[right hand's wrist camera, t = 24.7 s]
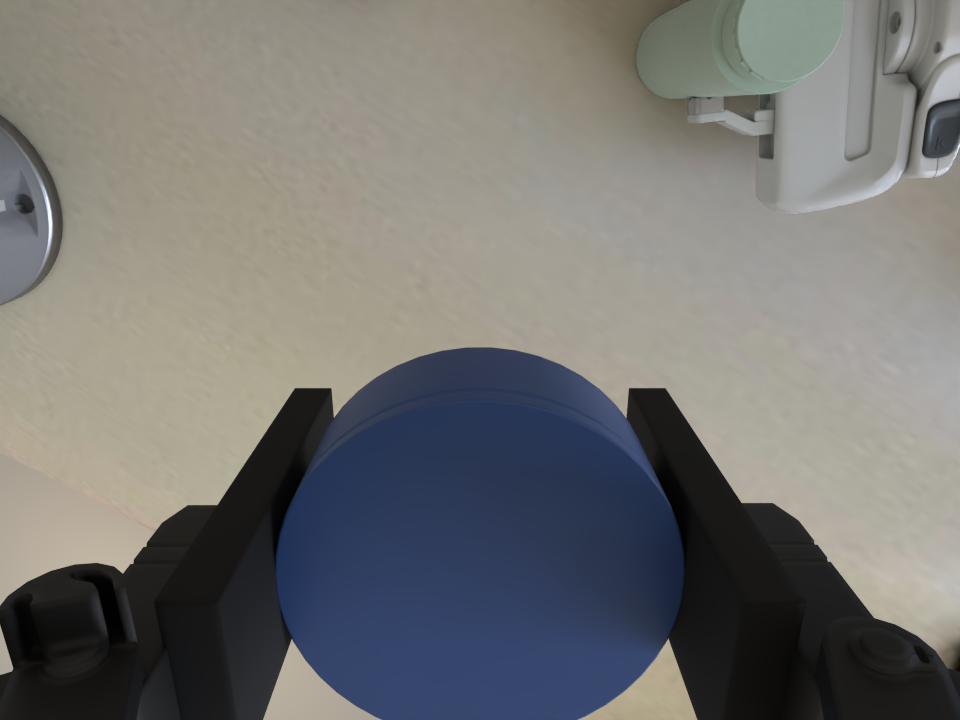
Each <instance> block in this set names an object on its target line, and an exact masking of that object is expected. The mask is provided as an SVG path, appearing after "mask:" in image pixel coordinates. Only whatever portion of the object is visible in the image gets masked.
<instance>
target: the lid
mask: <svg viewBox="0 0 960 720" xmlns="http://www.w3.org/2000/svg"><path fill="white" fill-rule="evenodd" d="M275 572H276V582H277V589H278V597H279V605H280V609H281V613H282V616H283V619H284V622H285V624H286V627H287V629H288V631H289V633H290V635H291V637H292V640H293V642H294V643H295V645H296V646H297V648H298V649H299V651H300V652H301V654H302V655H303V657H304V659H305V660H306V661H307V662H308V664H309V665H310V666H311V667H312V668H313V669H314V671H315V672H316V673H317V674H318V675H319V676H320V678H322V679H323V680H324V681H325V682H326V683H327V684H328V685H329V686H330V687H331V688H333V689H334V690H335V691H336V692H337V693H338V694H340V695H341V696H343V697H344V698H346V699H347V700H348V701H350V702H351V703H352V704H354V705H355V706H357V707H359V708H360V709H362V710H364V711H366V712H368V713H370V714H371V715H373V716H375V717H377V718H379V719H382V720H578V719H580V718H583V717H585V716H587V715H589V714H590V713H592V712H594V711H596V710H597V709H599V708H601V707H603V706H605V705H606V704H608V703H609V702H610V701H612V700H613V699H614V698H616V697H617V696H619V695H620V694H621V693H623V692H624V691H625V690H626V689H627V688H629V687H630V686H631V685H632V684H633V683H634V682H635V681H636V680H637V679H638V678H639V677H640V676H641V675H642V674H643V673H644V672H645V671H646V669H647V668H648V667H649V666H650V665H651V663H652V662H653V661H654V660H655V659H656V657H657V656H658V654H659V652H660V651H661V649H662V648H663V646H664V644H665V643H666V641H667V640H668V638H669V635H670V633H671V631H672V629H673V626H674V624H675V622H676V620H677V616H678V613H679V609H680V606H681V600H682V592H683V584H684V576H685V552H684V547H683V542H682V537H681V532H680V528H679V526H678V523H677V520H676V518H675V515H674V512H673V510H672V507H671V505H670V503H669V501H668V499H667V497H666V495H665V493H664V491H663V489H662V487H661V484H660V482H659V480H658V478H657V476H656V474H655V472H654V470H653V468H652V466H651V464H650V462H649V460H648V458H647V455H646V453H645V451H644V449H643V447H642V445H641V443H640V441H639V439H638V437H637V435H636V434H635V432H634V430H633V428H632V427H631V425H630V423H629V421H628V420H627V419H626V418H625V416H624V415H623V414H622V412H621V411H620V410H619V409H618V407H617V406H616V405H615V404H614V403H613V402H612V401H611V400H610V399H609V398H608V397H607V396H606V395H605V394H604V393H603V392H602V391H601V390H600V389H599V388H597V387H596V386H594V385H593V384H592V383H590V382H589V381H588V380H586V379H585V378H584V377H582V376H581V375H579V374H577V373H575V372H573V371H571V370H570V369H568V368H566V367H564V366H562V365H560V364H558V363H555V362H552V361H550V360H547V359H545V358H542V357H539V356H536V355H532V354H528V353H524V352H520V351H516V350H508V349H499V348H460V349H453V350H445V351H440V352H436V353H432V354H428V355H425V356H421V357H418V358H415V359H413V360H410V361H408V362H405V363H403V364H400V365H398V366H396V367H394V368H392V369H390V370H389V371H387V372H385V373H383V374H381V375H380V376H378V377H376V378H375V379H374V380H372V381H371V382H370V383H368V384H367V385H366V386H364V387H363V388H362V389H360V390H359V391H358V392H357V393H356V394H355V395H354V396H353V397H352V398H351V399H350V400H349V401H348V402H347V403H346V404H345V405H344V406H343V407H342V408H341V410H340V411H339V412H338V414H337V415H336V416H335V418H334V419H333V420H332V422H331V423H330V424H329V426H328V428H327V430H326V432H325V434H324V436H323V437H322V439H321V441H320V443H319V445H318V447H317V449H316V451H315V453H314V455H313V458H312V460H311V462H310V464H309V466H308V468H307V470H306V472H305V474H304V476H303V478H302V480H301V483H300V485H299V487H298V489H297V491H296V493H295V495H294V497H293V499H292V501H291V503H290V505H289V507H288V510H287V512H286V515H285V518H284V521H283V523H282V526H281V529H280V532H279V537H278V542H277V548H276V553H275Z"/></svg>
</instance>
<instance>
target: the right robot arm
mask: <svg viewBox="0 0 960 720" xmlns="http://www.w3.org/2000/svg"><path fill="white" fill-rule="evenodd" d="M61 238H62V212H61V206H60V201H59V197H58V193H57V190H56V187H55V184H54V182H53V179H52V177H51V175H50V173H49V171H48V169H47V167H46V165H45V164H44V162H43V160H42V159H41V157H40V155H39V154H38V153H37V151H36V150H35V148H34V147H33V146H32V145H31V143H30V142H29V141H28V140H27V139H26V137H25V136H24V135H23V134H22V133H21V132H20V131H19V130H18V129H17V128H16V127H14V126H13V125H12V124H11V123H10V122H9V121H7V120H6V119H5V118H3V117H2V116H1V115H0V305H3V304H5V303H8V302H10V301H12V300H15V299H17V298H19V297H21V296H23V295H25V294H27V293H28V292H30V291H31V290H32V289H34V288H35V287H36V286H37V285H38V284H39V283H40V282H42V280H43V279H44V278H45V277H46V276H47V274H48V273H49V271H50V270H51V268H52V266H53V264H54V262H55V260H56V258H57V255H58V252H59V249H60V244H61ZM333 419H334V415H333V403H332V391H331V388H295V389H294V391H293V392H292V394H291V395H290V397H289V398H288V400H287V401H286V403H285V404H284V406H283V407H282V409H281V410H280V412H279V413H278V415H277V416H276V418H275V419H274V421H273V422H272V424H271V425H270V427H269V428H268V430H267V431H266V433H265V434H264V436H263V437H262V439H261V440H260V442H259V443H258V445H257V446H256V448H255V449H254V451H253V452H252V454H251V456H250V457H249V459H248V460H247V462H246V463H245V465H244V466H243V468H242V469H241V471H240V472H239V474H238V475H237V477H236V478H235V480H234V481H233V483H232V484H231V486H230V487H229V489H228V490H227V492H226V493H225V495H224V496H223V498H222V499H221V501H220V502H219V504H218V505H188V506H186V507H185V508H183V509H182V510H180V511H179V512H177V513H176V514H174V515H173V516H172V517H170V518H169V519H167V520H166V521H164V522H163V523H162V524H161V525H160V526H159V528H158V529H157V530H156V532H155V533H154V534H153V536H152V537H151V538H150V539H149V541H148V542H147V546H146V547H143V549H142V550H141V551H140V552H139V554H138V555H137V556H136V558H135V559H134V563H133V564H130V565H129V567H128V568H127V569H126V571H125V572H124V573H123V574H122V573H121V572H120V571H119V570H118V569H116V568H115V567H113V566H109V565H104V564H99V563H91V564H76V565H72V566H68V567H64V568H60V569H57V570H53V571H50V572H48V573H46V574H43V575H41V576H39V577H37V578H35V579H33V580H31V581H28V582H27V583H25V584H24V585H22V586H21V587H20V588H18V589H17V590H16V591H14V592H13V593H11V594H10V595H9V596H8V597H7V598H6V599H5V601H4V602H3V603H2V604H1V605H0V625H1V629H2V632H3V635H4V639H5V642H6V645H7V649H8V652H9V655H10V658H11V662H12V665H13V671H12V672H9V673H6V674H3V675H0V720H263V718H264V715H265V712H266V710H267V707H268V704H269V701H270V698H271V695H272V692H273V690H274V687H275V684H276V681H277V679H278V676H279V673H280V670H281V667H282V665H283V662H284V659H285V656H286V653H287V650H288V648H289V645H290V642H291V639H292V637H291V635H290V633H289V631H288V629H287V627H286V624H285V622H284V619H283V616H282V613H281V609H280V605H279V597H278V589H277V582H276V572H275V553H276V548H277V542H278V537H279V532H280V529H281V526H282V523H283V521H284V518H285V515H286V512H287V510H288V507H289V505H290V503H291V501H292V499H293V497H294V495H295V493H296V491H297V489H298V487H299V485H300V483H301V480H302V478H303V476H304V474H305V472H306V470H307V468H308V466H309V464H310V462H311V460H312V458H313V455H314V453H315V451H316V449H317V447H318V445H319V443H320V441H321V439H322V437H323V436H324V434H325V432H326V430H327V428H328V426H329V424H330V423H331V422H332V420H333ZM627 420H628V421H629V423H630V425H631V427H632V428H633V430H634V432H635V434H636V435H637V437H638V439H639V441H640V443H641V445H642V447H643V449H644V451H645V453H646V455H647V458H648V460H649V462H650V464H651V466H652V468H653V470H654V472H655V474H656V476H657V478H658V480H659V482H660V484H661V487H662V489H663V491H664V493H665V495H666V497H667V499H668V501H669V503H670V505H671V507H672V510H673V512H674V515H675V518H676V520H677V523H678V526H679V528H680V532H681V537H682V542H683V547H684V552H685V576H684V584H683V592H682V600H681V606H680V609H679V613H678V616H677V620H676V622H675V624H674V626H673V629H672V631H671V633H670V635H669V641H670V644H671V647H672V649H673V652H674V655H675V658H676V661H677V663H678V666H679V669H680V672H681V675H682V678H683V680H684V683H685V686H686V689H687V692H688V694H689V697H690V700H691V703H692V706H693V708H694V711H695V714H696V717H697V720H960V672H958V671H954V670H951V669H948V668H947V667H946V666H945V664H944V663H943V661H942V660H941V658H940V657H939V655H938V654H937V653H936V651H935V650H934V649H932V648H931V647H930V646H929V645H927V644H926V643H925V642H924V641H923V640H921V639H920V638H919V637H918V636H916V635H914V634H912V633H910V632H908V631H906V630H905V629H903V628H901V627H899V626H897V625H895V624H892V623H888V622H885V621H882V620H878V619H875V618H874V617H873V616H872V615H871V614H870V612H869V611H868V610H867V608H866V607H865V606H864V605H863V603H862V602H861V601H860V599H859V598H858V597H857V595H856V594H855V593H854V592H853V590H852V589H851V588H850V586H849V585H848V584H847V583H846V581H845V580H844V579H843V577H842V576H841V575H840V574H839V572H838V571H837V570H836V568H835V567H834V566H833V564H832V563H831V562H828V561H827V557H826V555H825V554H824V553H823V552H822V550H821V549H820V548H819V546H818V545H815V544H814V540H813V539H812V537H811V536H810V535H809V533H808V532H807V531H806V530H805V528H804V527H803V526H802V524H801V523H800V522H799V521H798V520H797V519H795V518H794V517H792V516H791V515H790V514H788V513H787V512H785V511H784V510H782V509H781V508H779V507H778V506H776V505H775V504H773V503H741V502H740V500H739V499H738V497H737V496H736V494H735V493H734V491H733V490H732V488H731V487H730V485H729V483H728V482H727V480H726V479H725V477H724V476H723V474H722V473H721V471H720V470H719V468H718V467H717V465H716V464H715V462H714V461H713V459H712V458H711V456H710V455H709V453H708V452H707V450H706V449H705V447H704V446H703V444H702V443H701V441H700V440H699V438H698V437H697V435H696V434H695V432H694V431H693V429H692V428H691V426H690V425H689V423H688V422H687V420H686V419H685V417H684V416H683V414H682V413H681V411H680V410H679V408H678V407H677V405H676V404H675V402H674V401H673V399H672V398H671V396H670V395H669V393H668V392H667V390H666V389H665V388H629V396H628V408H627Z"/></svg>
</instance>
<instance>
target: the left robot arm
mask: <svg viewBox="0 0 960 720" xmlns="http://www.w3.org/2000/svg"><path fill="white" fill-rule="evenodd" d="M843 3H844V14H845V16H844V25H843V30H842V33H841V36H840V39H839V41H838V43H837V46H836V47H835V49H834V51H833V52H832V54H831V55H830V56H829V58H828V59H827V60H826V61H825V62H824V63H823V64H822V65H821V66H820V67H819V68H818V69H817V70H815V71H814V72H812V73H811V74H809V75H807V76H806V77H804V78H803V79H802V80H801V81H799V82H798V83H796V84H795V85H793V86H791V87H789V88H788V89H785V90H782V91H780V92H776V93H771V94H759V95H758V109H757V110H750V111H744V112H743V113H742V116H739V115H737V114H735V113H733V112H731V111H729V110H726V109H724V96H721V97H697V98H688V115H687V119H688V123H691V124H694V123H706V122H714V121H715V122H716V123H718V124H720V125H722V126H724V127H726V128H728V129H731V130H733V131H735V132H737V133H739V134H741V135H750V136H757V135H758V137H757V179H756V196H757V199H758V200H759V201H760V202H761V203H763V204H764V205H765V206H767V207H768V208H770V209H771V210H774V211H776V212H780V213H784V214H799V213H807V212H813V211H819V210H824V209H829V208H834V207H838V206H843V205H847V204H851V203H855V202H858V201H862V200H866V199H869V198H872V197H874V196H877V195H879V194H881V193H883V192H885V191H886V190H888V189H889V188H890V187H892V186H893V185H894V184H895V183H896V182H897V181H898V180H899V178H908V179H918V178H932V177H937V176H941V175H943V174H944V173H946V172H947V171H948V170H949V168H950V167H951V165H952V163H953V161H954V159H955V157H956V155H957V152H958V150H959V147H960V0H843Z"/></svg>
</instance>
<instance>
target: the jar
mask: <svg viewBox="0 0 960 720" xmlns="http://www.w3.org/2000/svg"><path fill="white" fill-rule="evenodd" d="M844 16H845V14H844V3H843V0H690V1H688V2H686V3H684V4H682V5H680V6H678V7H676V8H674V9H672V10H670V11H668V12H666V13H664V14H663V15H661V16H659V17H657V18H656V19H655V20H654V21H652V22H651V23H650V24H649V26H648V27H647V28H646V29H645V31H644V32H643V34H642V36H641V38H640V40H639V43H638V46H637V51H636V66H637V71H638V74H639V77H640V79H641V81H642V82H643V84H644V85H645V86H646V87H647V88H648V89H649V90H650V91H651V92H652V93H654V94H655V95H657V96H660V97H662V98H667V99H683V98H697V97H721V96H740V95H759V94H771V93H776V92H780V91H782V90H785V89H788V88H789V87H791V86H793V85H795V84H796V83H798V82H799V81H801V80H802V79H803V78H804V77H806V76H807V75H809V74H811V73H812V72H814V71H815V70H817V69H818V68H819V67H820V66H821V65H822V64H823V63H824V62H825V61H826V60H827V59H828V58H829V56H830V55H831V54H832V52H833V51H834V49H835V47H836V46H837V43H838V41H839V39H840V36H841V33H842V30H843V25H844Z"/></svg>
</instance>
